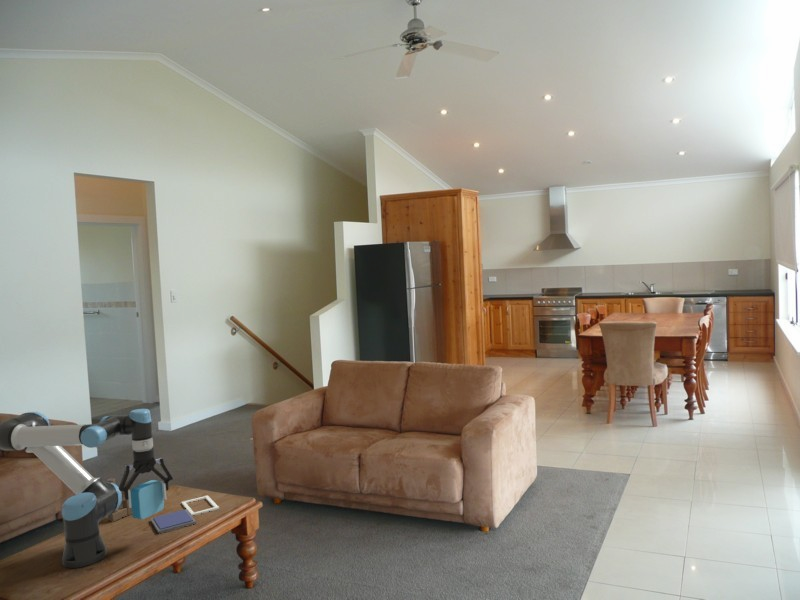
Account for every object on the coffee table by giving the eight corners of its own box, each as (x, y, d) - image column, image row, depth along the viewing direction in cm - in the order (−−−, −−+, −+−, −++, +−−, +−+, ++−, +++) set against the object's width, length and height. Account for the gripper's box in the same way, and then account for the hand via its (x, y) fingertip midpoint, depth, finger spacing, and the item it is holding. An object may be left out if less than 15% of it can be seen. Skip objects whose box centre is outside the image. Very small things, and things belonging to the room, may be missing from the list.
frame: (191, 516, 276) (191, 514, 276) (181, 503, 293) (181, 502, 293) (219, 508, 283) (219, 507, 283) (207, 496, 299) (207, 495, 299)
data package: (156, 507, 258) (153, 478, 258) (164, 509, 256) (162, 479, 256) (132, 519, 247) (129, 489, 247) (140, 520, 246) (138, 490, 245)
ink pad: (158, 534, 260) (158, 530, 260) (150, 521, 274) (150, 517, 274) (196, 523, 268) (195, 520, 268) (186, 511, 282) (186, 508, 282)
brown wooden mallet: (135, 513, 285) (131, 473, 284) (113, 522, 276) (108, 481, 275) (130, 511, 287) (126, 472, 286) (108, 521, 278) (103, 480, 277)
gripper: (110, 457, 241) (115, 513, 242) (177, 444, 253) (182, 497, 255) (107, 453, 247) (112, 507, 248) (173, 440, 260) (177, 492, 261)
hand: (147, 502), depth 252 cm, fingers closed on data package, 12 cm apart
